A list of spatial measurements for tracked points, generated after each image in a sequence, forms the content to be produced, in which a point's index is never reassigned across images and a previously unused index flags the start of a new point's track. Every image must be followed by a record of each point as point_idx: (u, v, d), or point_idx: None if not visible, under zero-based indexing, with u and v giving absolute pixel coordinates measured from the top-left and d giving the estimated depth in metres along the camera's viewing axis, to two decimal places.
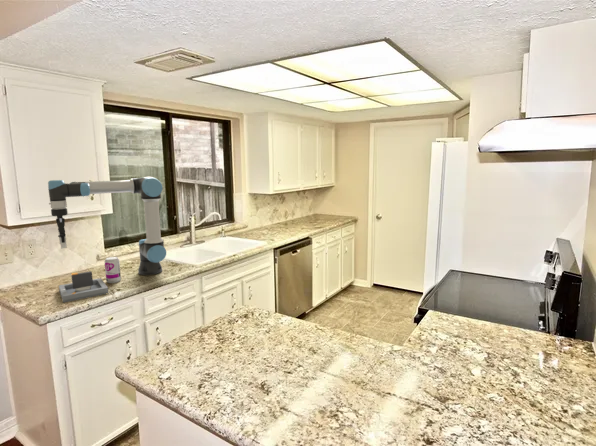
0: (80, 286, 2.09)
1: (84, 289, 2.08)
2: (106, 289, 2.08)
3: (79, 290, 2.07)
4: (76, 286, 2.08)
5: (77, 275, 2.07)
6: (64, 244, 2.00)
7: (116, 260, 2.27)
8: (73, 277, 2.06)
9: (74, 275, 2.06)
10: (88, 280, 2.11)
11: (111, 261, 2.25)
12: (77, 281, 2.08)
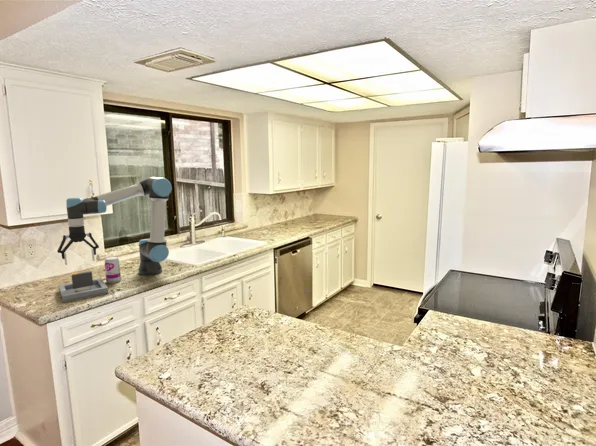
0: (80, 286, 2.09)
1: (84, 289, 2.08)
2: (106, 289, 2.08)
3: (79, 290, 2.07)
4: (76, 286, 2.08)
5: (77, 275, 2.07)
6: None
7: (116, 260, 2.27)
8: (73, 277, 2.06)
9: (74, 275, 2.06)
10: (88, 280, 2.11)
11: (111, 261, 2.25)
12: (77, 281, 2.08)
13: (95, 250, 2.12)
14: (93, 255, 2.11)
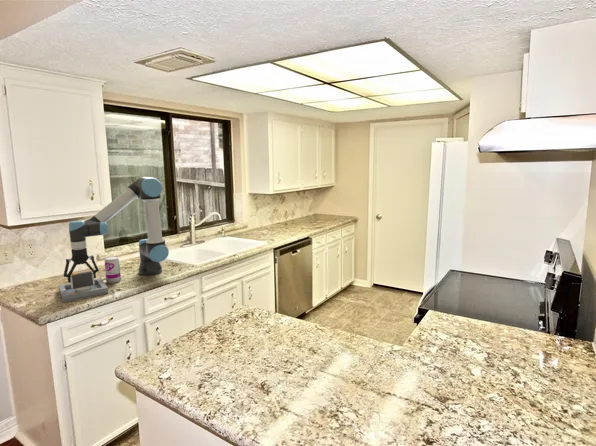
0: (80, 286, 2.09)
1: (84, 289, 2.08)
2: (106, 289, 2.08)
3: (79, 290, 2.07)
4: (76, 286, 2.08)
5: (77, 275, 2.07)
6: (71, 284, 2.07)
7: (116, 260, 2.27)
8: (73, 277, 2.06)
9: (74, 275, 2.06)
10: (88, 280, 2.11)
11: (111, 261, 2.25)
12: (77, 281, 2.08)
13: (95, 274, 2.13)
14: (93, 279, 2.12)
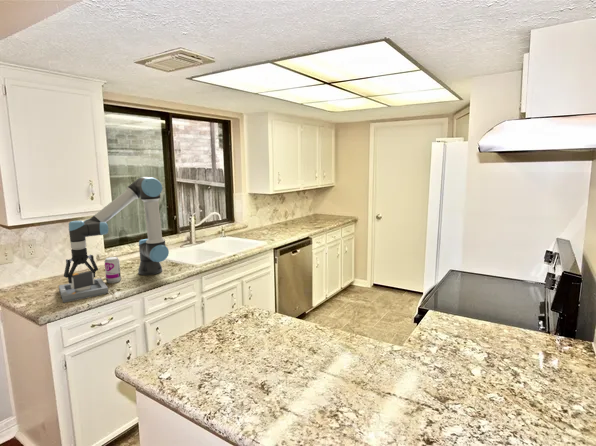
0: (81, 286, 2.09)
1: (86, 289, 2.09)
2: (106, 289, 2.08)
3: (81, 290, 2.07)
4: (77, 286, 2.07)
5: (78, 275, 2.07)
6: (71, 285, 2.06)
7: (116, 260, 2.27)
8: (74, 277, 2.06)
9: (75, 275, 2.06)
10: (88, 280, 2.12)
11: (111, 261, 2.25)
12: (78, 281, 2.07)
13: (94, 273, 2.15)
14: (93, 278, 2.14)
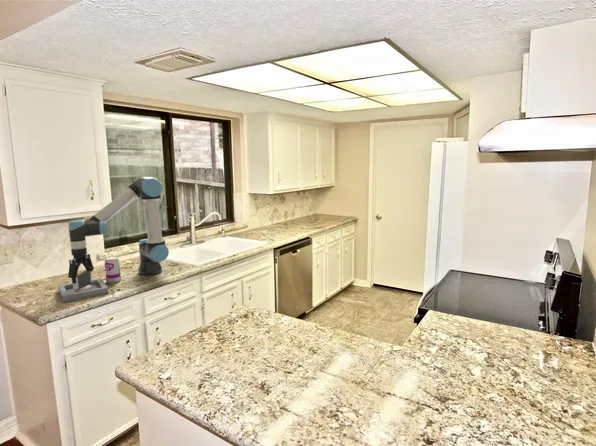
0: (83, 286, 2.09)
1: (89, 287, 2.10)
2: (106, 289, 2.08)
3: (85, 289, 2.08)
4: (80, 286, 2.07)
5: (80, 275, 2.07)
6: (75, 285, 2.05)
7: (116, 260, 2.27)
8: (78, 277, 2.05)
9: (78, 275, 2.06)
10: (87, 279, 2.13)
11: (111, 261, 2.25)
12: (80, 281, 2.07)
13: None
14: None
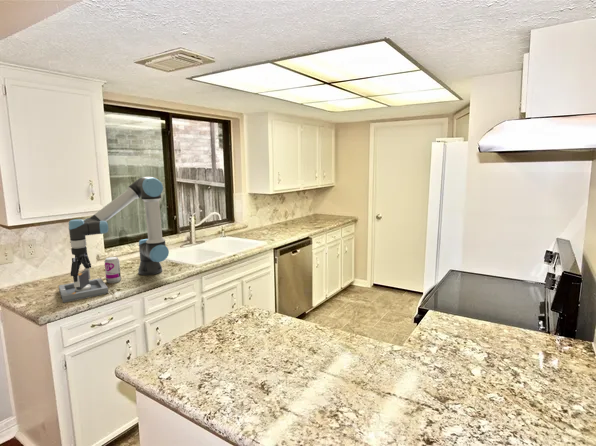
0: (84, 286, 2.09)
1: (90, 287, 2.11)
2: (106, 289, 2.08)
3: (87, 289, 2.09)
4: (82, 286, 2.07)
5: (82, 275, 2.07)
6: (77, 283, 2.03)
7: (116, 260, 2.27)
8: (80, 277, 2.06)
9: (80, 275, 2.06)
10: (86, 279, 2.13)
11: (111, 261, 2.25)
12: (82, 281, 2.08)
13: None
14: (89, 273, 2.17)
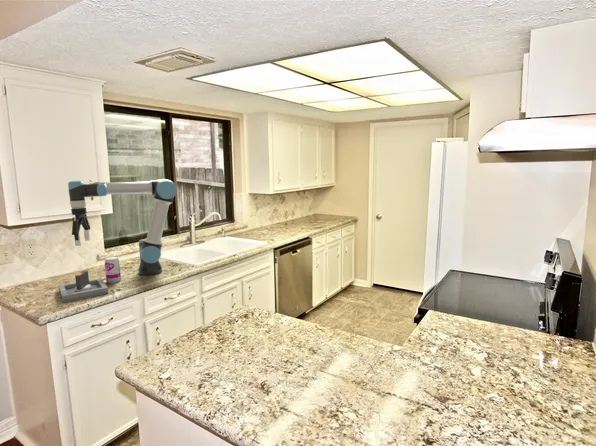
0: (84, 286, 2.09)
1: (90, 287, 2.11)
2: (106, 289, 2.08)
3: (87, 289, 2.09)
4: (82, 286, 2.07)
5: (82, 275, 2.07)
6: (78, 242, 2.10)
7: (116, 260, 2.27)
8: (80, 277, 2.06)
9: (80, 275, 2.06)
10: (86, 279, 2.13)
11: (111, 261, 2.25)
12: (82, 281, 2.08)
13: None
14: (89, 235, 2.24)
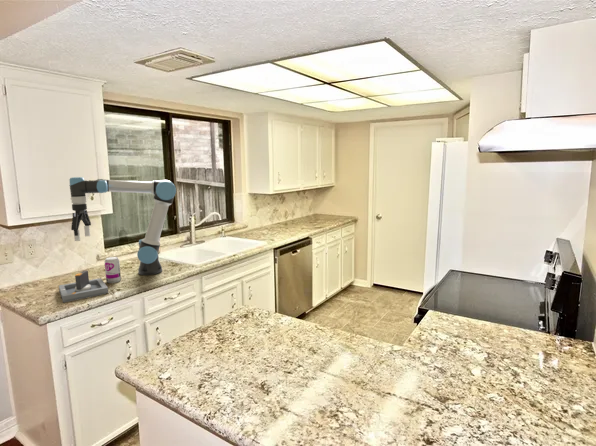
0: (84, 286, 2.09)
1: (90, 287, 2.11)
2: (106, 289, 2.08)
3: (87, 289, 2.09)
4: (82, 286, 2.07)
5: (82, 275, 2.07)
6: (77, 237, 2.13)
7: (116, 260, 2.27)
8: (80, 277, 2.06)
9: (80, 275, 2.06)
10: (86, 279, 2.13)
11: (111, 261, 2.25)
12: (82, 281, 2.08)
13: (88, 226, 2.28)
14: (89, 231, 2.27)
